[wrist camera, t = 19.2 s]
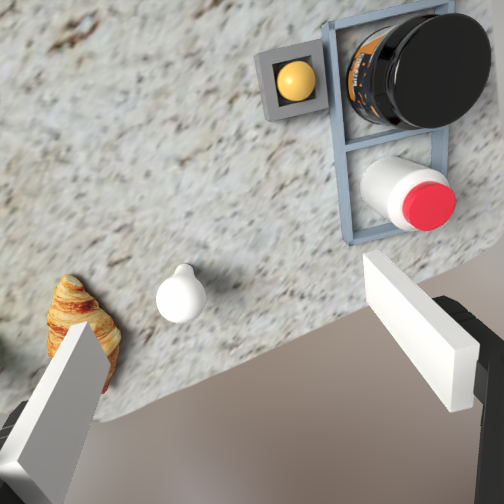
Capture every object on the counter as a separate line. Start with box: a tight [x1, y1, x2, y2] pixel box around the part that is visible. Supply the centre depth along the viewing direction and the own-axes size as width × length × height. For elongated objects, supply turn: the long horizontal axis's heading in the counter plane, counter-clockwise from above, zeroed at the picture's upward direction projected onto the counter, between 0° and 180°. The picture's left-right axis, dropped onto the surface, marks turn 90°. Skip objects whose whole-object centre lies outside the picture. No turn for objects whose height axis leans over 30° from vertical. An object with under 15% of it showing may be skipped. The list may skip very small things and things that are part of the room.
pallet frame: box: [321, 0, 455, 246], centre depth 44 cm, size 27×14×2 cm, turn 12°
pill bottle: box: [360, 156, 455, 231], centre depth 44 cm, size 8×8×11 cm
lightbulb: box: [156, 264, 206, 323], centre depth 45 cm, size 6×6×11 cm
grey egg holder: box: [254, 38, 329, 122], centre depth 40 cm, size 7×7×4 cm
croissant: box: [47, 275, 121, 394], centre depth 51 cm, size 21×10×8 cm, turn 4°
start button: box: [275, 61, 315, 101], centre depth 38 cm, size 4×4×3 cm
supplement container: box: [345, 13, 491, 130], centre depth 37 cm, size 10×10×12 cm
